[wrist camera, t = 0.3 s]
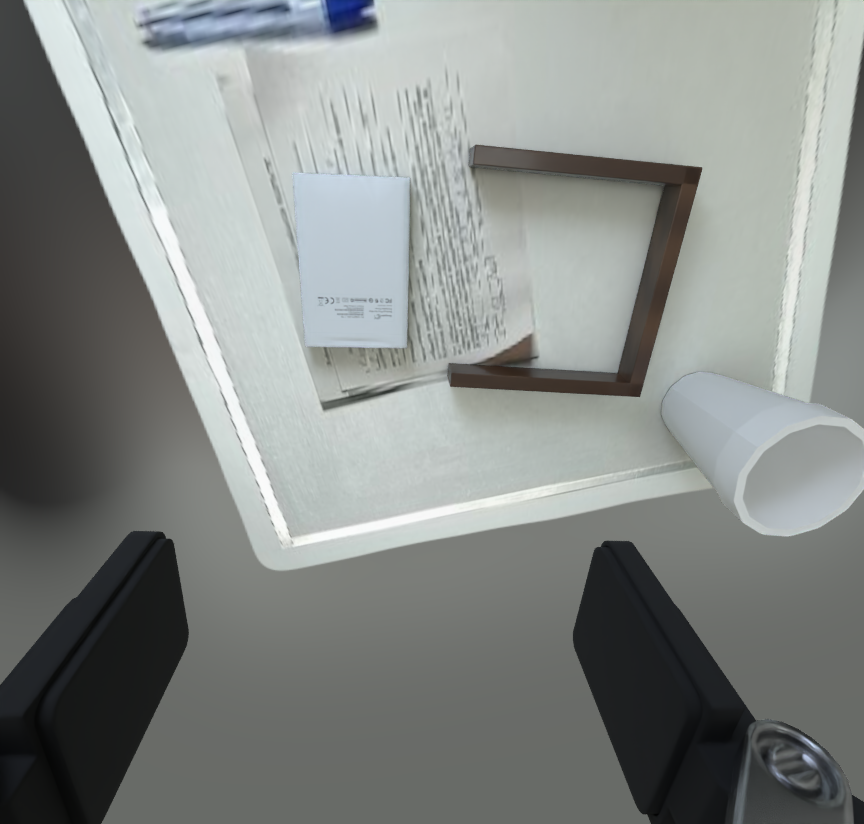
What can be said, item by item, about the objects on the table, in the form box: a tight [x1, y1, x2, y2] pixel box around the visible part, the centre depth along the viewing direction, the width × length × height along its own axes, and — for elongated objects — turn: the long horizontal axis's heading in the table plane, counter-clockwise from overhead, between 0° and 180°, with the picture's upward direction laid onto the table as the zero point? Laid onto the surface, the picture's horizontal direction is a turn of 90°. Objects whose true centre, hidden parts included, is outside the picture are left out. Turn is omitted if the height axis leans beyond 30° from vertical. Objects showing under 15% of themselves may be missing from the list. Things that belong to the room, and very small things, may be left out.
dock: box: [447, 145, 702, 397], centre depth 38 cm, size 17×16×2 cm
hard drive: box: [292, 172, 410, 349], centre depth 37 cm, size 2×8×12 cm
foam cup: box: [661, 371, 864, 536], centre depth 38 cm, size 10×9×13 cm
